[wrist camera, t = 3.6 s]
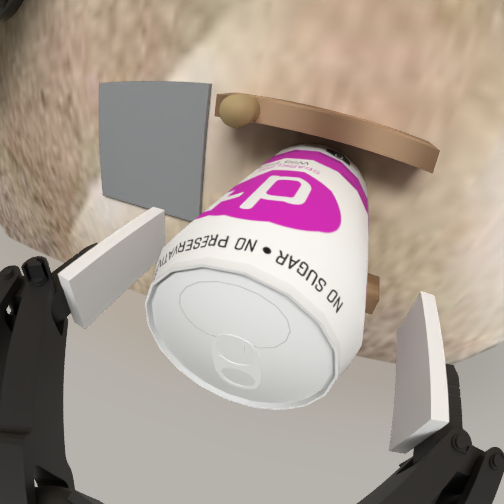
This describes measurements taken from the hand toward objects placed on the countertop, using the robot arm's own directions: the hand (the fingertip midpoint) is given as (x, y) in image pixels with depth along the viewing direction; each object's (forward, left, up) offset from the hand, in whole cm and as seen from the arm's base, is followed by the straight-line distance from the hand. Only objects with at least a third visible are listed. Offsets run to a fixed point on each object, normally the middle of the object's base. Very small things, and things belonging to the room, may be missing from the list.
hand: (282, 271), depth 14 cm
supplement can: (0, 0, -10) cm, 10 cm away
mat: (-15, +1, -10) cm, 18 cm away
